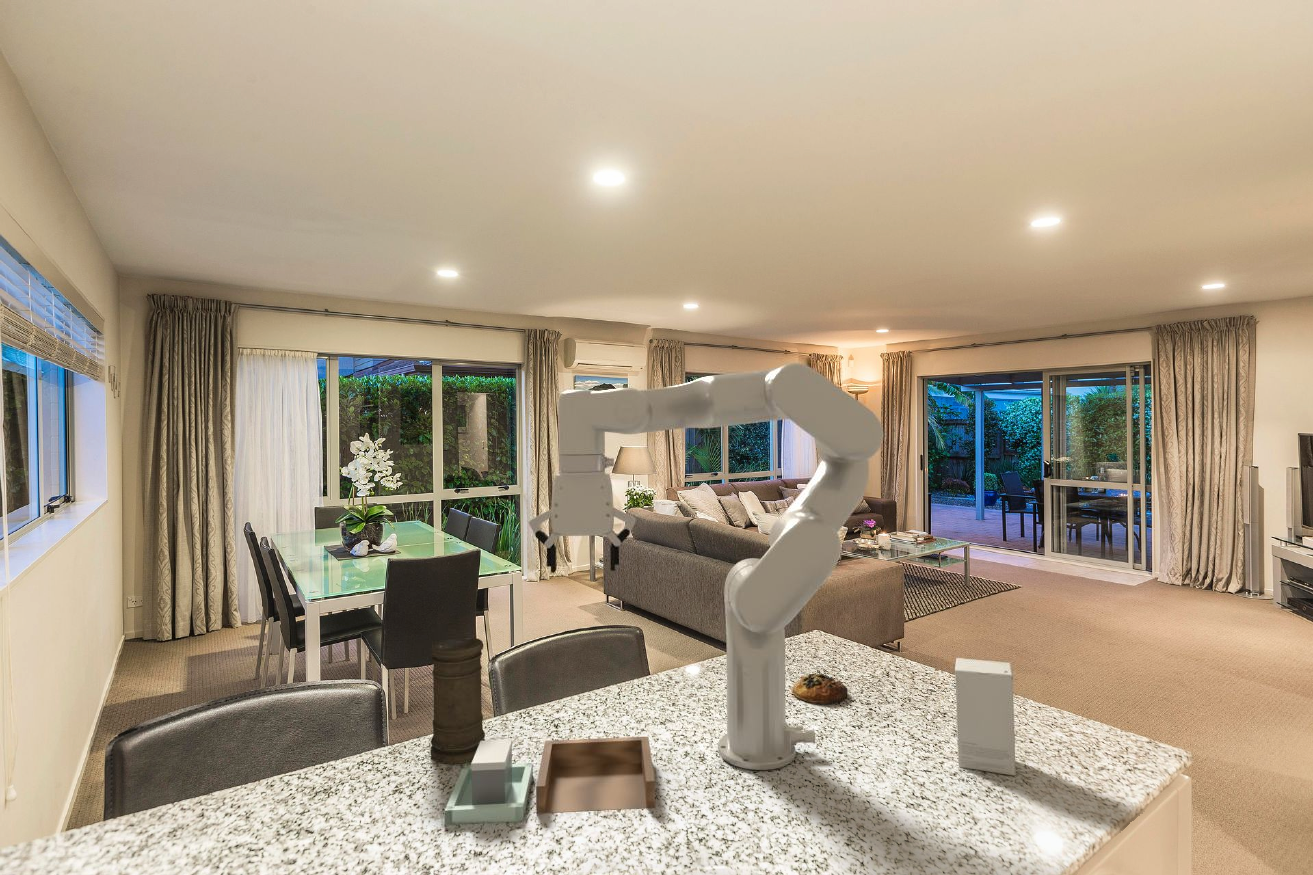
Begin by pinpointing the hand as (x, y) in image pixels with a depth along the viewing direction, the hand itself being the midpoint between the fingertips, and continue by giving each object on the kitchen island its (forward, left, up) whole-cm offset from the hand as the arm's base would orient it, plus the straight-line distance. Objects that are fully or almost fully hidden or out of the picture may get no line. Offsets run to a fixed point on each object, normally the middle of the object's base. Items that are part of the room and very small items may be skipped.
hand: (583, 570), depth 112 cm
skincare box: (-63, +9, -31) cm, 71 cm away
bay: (-2, +11, -30) cm, 32 cm away
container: (+21, -3, -31) cm, 37 cm away
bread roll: (-46, -22, -31) cm, 60 cm away
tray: (+13, +13, -30) cm, 35 cm away
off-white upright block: (+13, +13, -30) cm, 35 cm away
